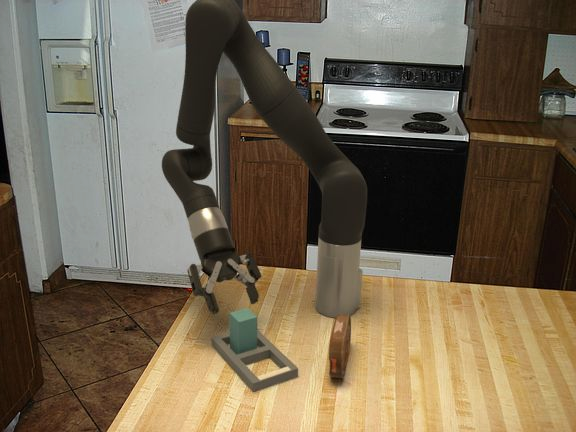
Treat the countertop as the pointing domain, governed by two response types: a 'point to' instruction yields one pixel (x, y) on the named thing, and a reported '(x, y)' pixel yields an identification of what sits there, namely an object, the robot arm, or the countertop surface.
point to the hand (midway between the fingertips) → (236, 307)
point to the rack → (255, 355)
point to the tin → (340, 346)
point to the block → (243, 331)
